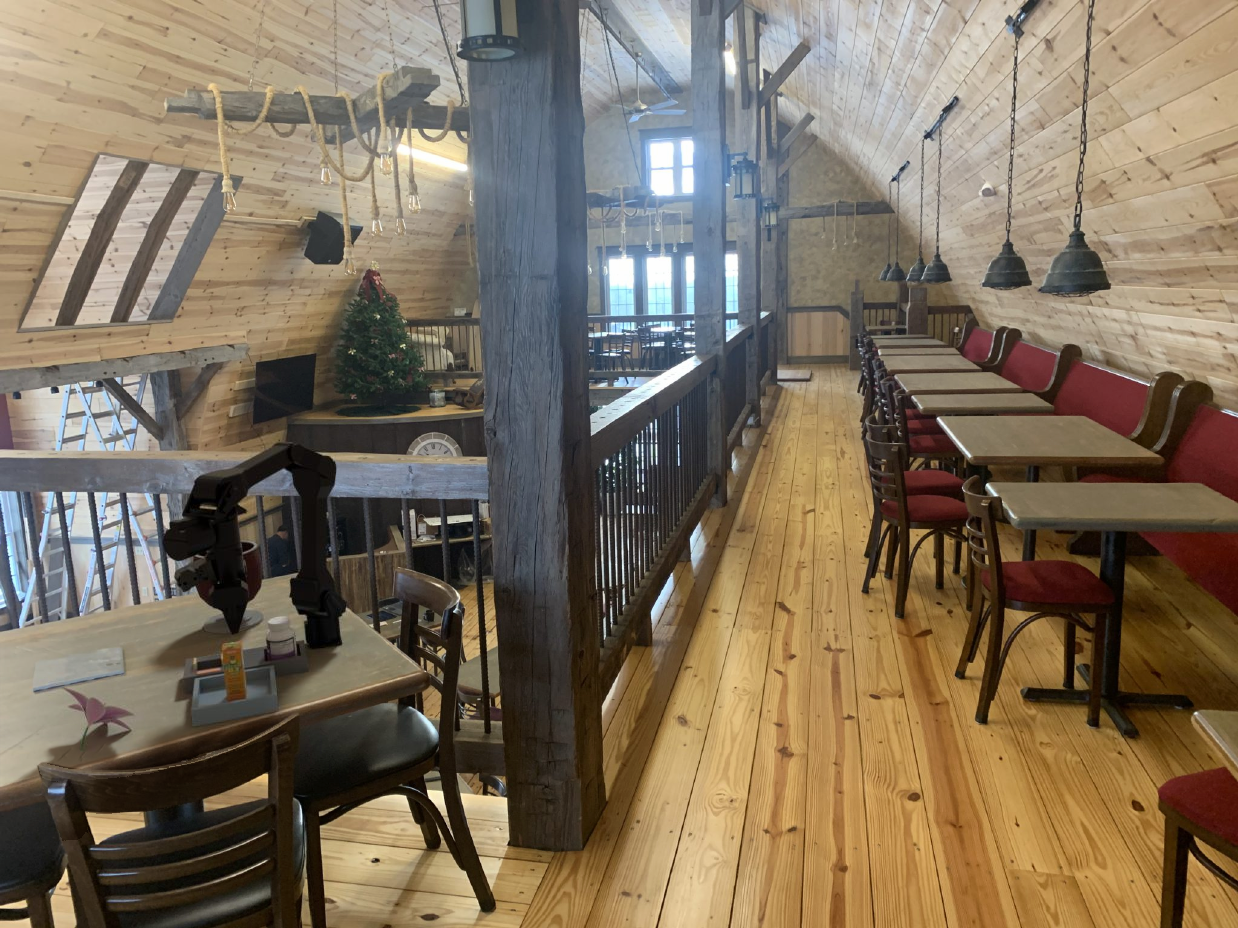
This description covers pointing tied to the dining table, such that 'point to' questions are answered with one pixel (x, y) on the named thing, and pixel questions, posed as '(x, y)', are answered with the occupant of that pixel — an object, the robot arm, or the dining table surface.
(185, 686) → the block
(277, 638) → the pill bottle
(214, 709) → the tray
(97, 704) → the lily
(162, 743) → the dining table surface
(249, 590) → the mate gourd
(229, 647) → the supplement box
